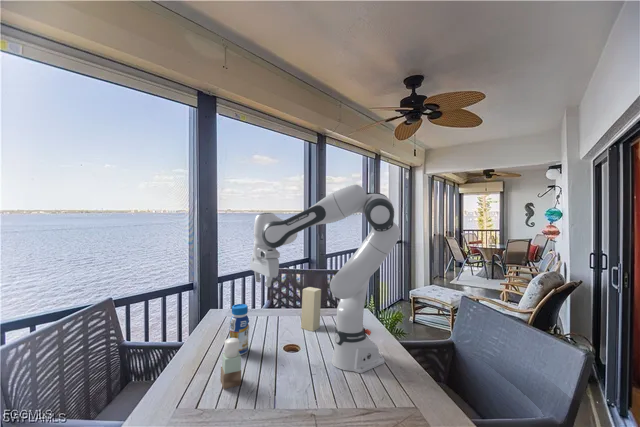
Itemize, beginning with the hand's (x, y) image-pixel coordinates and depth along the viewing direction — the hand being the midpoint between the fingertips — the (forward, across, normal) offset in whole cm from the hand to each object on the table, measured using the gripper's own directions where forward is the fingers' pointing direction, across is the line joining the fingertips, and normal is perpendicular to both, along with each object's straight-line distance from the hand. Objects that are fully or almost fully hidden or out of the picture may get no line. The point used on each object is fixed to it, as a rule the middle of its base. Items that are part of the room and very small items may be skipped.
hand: (262, 284), depth 126 cm
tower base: (+31, +11, -16) cm, 37 cm away
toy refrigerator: (+31, -17, +37) cm, 51 cm away
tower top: (+26, +11, -16) cm, 33 cm away
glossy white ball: (+21, +11, -16) cm, 29 cm away
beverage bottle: (+31, -11, -5) cm, 34 cm away
